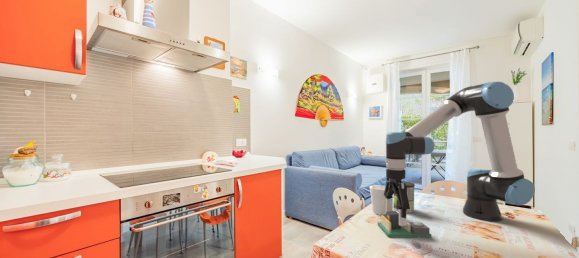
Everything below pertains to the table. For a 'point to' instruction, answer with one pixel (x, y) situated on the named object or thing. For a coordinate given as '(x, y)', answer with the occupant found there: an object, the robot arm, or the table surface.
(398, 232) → the board
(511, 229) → the table surface
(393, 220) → the plug
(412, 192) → the coffee can
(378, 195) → the foam cup
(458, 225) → the table surface
